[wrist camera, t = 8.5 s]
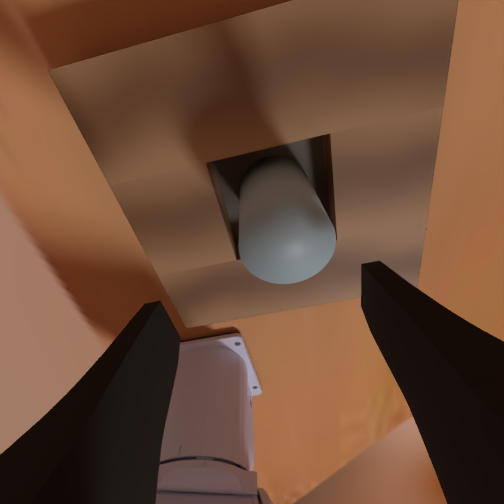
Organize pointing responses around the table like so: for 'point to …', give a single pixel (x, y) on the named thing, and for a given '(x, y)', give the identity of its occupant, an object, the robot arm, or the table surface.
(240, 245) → the slate pin
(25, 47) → the table surface
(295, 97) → the walnut socket block
